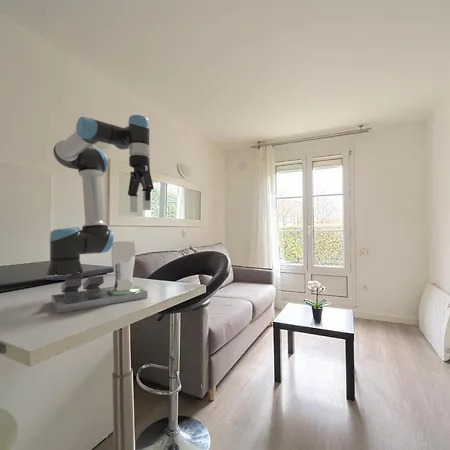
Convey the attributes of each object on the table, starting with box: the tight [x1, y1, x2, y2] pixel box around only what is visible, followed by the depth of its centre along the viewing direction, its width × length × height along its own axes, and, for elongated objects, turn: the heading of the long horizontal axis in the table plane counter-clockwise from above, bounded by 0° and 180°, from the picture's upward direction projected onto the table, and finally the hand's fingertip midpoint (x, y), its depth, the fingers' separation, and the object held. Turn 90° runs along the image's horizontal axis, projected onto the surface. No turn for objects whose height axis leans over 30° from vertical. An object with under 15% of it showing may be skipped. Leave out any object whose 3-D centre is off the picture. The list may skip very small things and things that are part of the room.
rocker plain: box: [82, 275, 105, 291], centre depth 83 cm, size 9×4×2 cm, turn 38°
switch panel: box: [50, 285, 148, 314], centre depth 82 cm, size 15×24×3 cm, turn 128°
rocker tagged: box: [60, 278, 83, 294], centre depth 80 cm, size 9×4×2 cm, turn 38°
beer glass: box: [111, 240, 136, 291], centre depth 84 cm, size 7×7×15 cm
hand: (140, 211), depth 103 cm, fingers open, 13 cm apart
